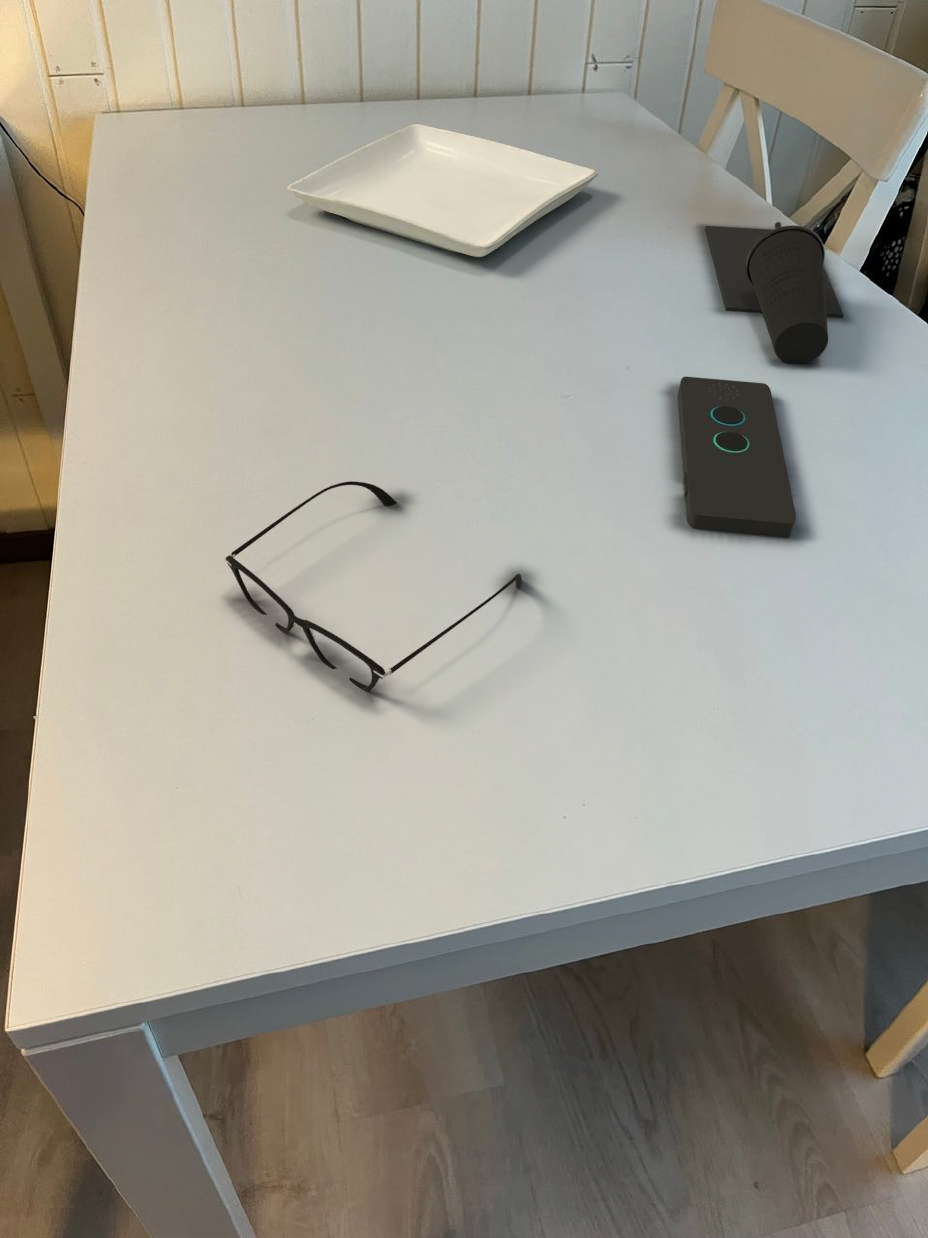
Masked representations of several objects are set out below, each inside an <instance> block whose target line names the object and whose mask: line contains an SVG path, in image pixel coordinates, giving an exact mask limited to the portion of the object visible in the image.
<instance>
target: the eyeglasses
mask: <svg viewBox="0 0 928 1238" xmlns="http://www.w3.org/2000/svg"><path fill="white" fill-rule="evenodd" d="M343 486H357V487H362V488H365V489H367V490H368V491H370V492H371V493H373V495H374V496H375V497H377V499H378V500H379V501H380V503H382V504H383V506H385V507H391V506H394V505H395V506H396V504H398V502H397V501H396V500H395V499H394V498H393V497H392V496H391V495H389V493H388V492H386V491H385V490H384V489H383V488H380V487H379V486H377V485H375V484H373V483H368V482H363V481H352V480H351V481H342V482H339V483H336V484H332V485H330V486H328V487H326V488H324V489H322V490H320V491H318V492H316V493H315V494H314V495H311V496H310V497H309V498H307V499H305V500H304V501H303V502H301V503H300V504H298V505H297V506H296V507H293V508H292V509H291V510H290V511H288V512H287V513H285V514H283V515H282V516H281V517H280V518H278V519H277V520H275V521H274V522H273V523H271V524H269V526H267V527H265V528H264V529H263V530H261V531H260V532H259V533H257V534H255V535H254V536H253V537H251V538H250V539H249V540H247V541H246V542H245V543H242V544H241V545H240V546H239V547H237V548H236V549H235V550H233V551H232V552H231V553H229V554H228V555H227V556H226V557H225V558H224V562H225V563H226V564H227V566H228V567H229V569H230V570H231V572H232V573H233V576H234V578H235V580H236V582H237V584H238V586H239V587H240V590H241V591H242V594H243V596H244V597H245V599H246V601H247V602H248V603H249V604H250V605H251V606H252V607H253V608H254V609H255V610H256V611H257V612H258V613H259V614H260V615H265V616H267V615H268V614H267V612H265V610H263V609H262V608H261V607H260V606H259V605H258V603H257V602H255V600H254V599H253V598H252V596H251V594H250V593H249V591H248V589H247V587H246V584H245V583H244V580H243V577H242V575H241V573H243V574H244V575H245V576H246V577H248V578H249V579H251V581H253V582H254V583H255V584H256V585H258V586H259V587H260V588H261V589H262V590H263V591H264V592H265V593H266V594H267V595H268V596H269V597H271V598H272V599H273V601H275V603H277V605H279V606H280V607H281V608H282V609H283V610H284V612H285V613H286V615H287V626H286V627H284V626H282V625H281V624H280V623H278V622H275V624H274V626H275V627H276V628H277V629H278V630H279V631H281V632H282V633H285V634H287V633H289V632H290V631H292V630H293V628H298V627H301V629H302V632H303V633H304V635H305V637H306V639H307V641H308V642H309V644H310V646H311V648H312V649H313V651H314V653H315V654H316V656H317V657H318V658H319V660H320V661H321V662H322V663H323V664H324V665H325V666H327V667H328V668H330V669H332V670H338V667H336V666H335V665H334V664H332V662H331V661H329V660H328V659H327V658H326V656H325V655H324V654H323V652H322V650H321V649H320V647H319V645H318V644H317V642H316V635H315V634H314V631H315V632H317V633H318V634H321V635H323V636H324V637H326V638H328V639H329V640H331V641H333V642H335V643H336V644H338V646H339V645H340V647H342V648H344V649H345V650H346V651H348V652H349V653H351V654H352V655H353V656H355V657H356V658H358V659H359V660H361V661H362V662H363V663H365V664H366V666H367V667H368V668H369V669H370V674H371V681H370V683H369V685H366V684H364V683H362V682H360V681H358V680H357V679H355V678H353V677H351V676H349V682H351V683H352V684H353V685H354V686H356V687H357V688H359V689H361V690H363V691H366V692H371V691H372V690H373V689H374V688H375V686H376V685H377V684H378V682H379V680H380V679H381V680H383V679H384V678H386V677H387V676H391V675H392V674H393V673H395V672H396V671H397V670H399V669H400V668H402V667H403V666H404V665H405V664H407V663H409V662H410V661H411V660H413V659H414V658H415V657H417V656H418V655H419V654H420V653H422V652H423V651H425V650H426V649H428V648H429V647H430V646H431V645H433V644H434V643H436V642H437V641H438V640H439V639H441V638H442V637H443V636H445V635H446V634H447V633H449V632H450V631H452V630H454V628H456V627H457V626H459V625H460V624H461V623H463V622H464V621H465V620H466V619H468V618H469V617H470V616H472V615H473V614H475V613H476V612H477V611H479V610H480V609H482V607H484V606H485V605H487V604H488V603H490V601H492V600H493V599H495V598H496V597H497V596H499V594H501V593H502V592H503V591H504V590H506V589H507V588H508V587H510V586H511V585H512V584H513V583H515V588H516V589H519V588H520V587H521V586H522V584H523V579H522V575H521V573H517V574H515V576H513V577H512V578H511V579H510V580H509V581H507V583H506V584H504V585H503V586H501V588H499V590H498V591H496V592H495V593H493V595H491V596H489V597H488V598H487V599H486V600H484V601H483V602H481V603H480V604H478V605H477V606H476V607H475V608H474V609H472V610H471V611H469V612H467V614H465V615H464V616H462V617H461V618H459V619H458V620H456V621H455V622H454V623H453V624H451V625H450V626H448V627H447V628H445V629H444V630H443V631H441V632H440V633H439V634H437V635H436V636H434V637H433V638H432V639H430V640H429V641H427V642H426V643H424V644H423V645H422V646H420V647H419V648H417V649H416V650H414V651H413V652H411V653H410V654H409V655H407V656H406V657H404V658H403V659H402V660H400V661H399V662H397V663H396V664H395V665H393V666H392V667H391V668H387V671H386V670H385V668H383V666H381V665H380V664H378V663H377V662H376V661H374V660H373V659H372V658H370V657H369V656H368V655H366V654H365V653H363V652H362V651H361V650H359V649H357V648H356V647H355V646H353V645H352V644H350V643H349V642H347V641H346V640H344V639H343V638H341V637H339V636H337V635H336V634H334V633H333V632H331V631H329V630H327V629H326V628H324V627H322V626H320V625H318V624H316V623H314V622H312V621H310V620H307V619H304V618H300V617H299V616H296V615H295V613H294V611H293V609H292V607H290V606H289V605H288V603H286V602H285V600H283V599H282V598H281V597H280V596H279V595H278V594H277V593H276V592H274V590H272V589H271V588H270V587H269V586H268V585H267V584H266V582H264V581H263V580H262V579H260V578H259V577H258V576H257V575H256V574H255V573H253V571H251V570H250V569H248V568H247V567H246V566H244V565H243V564H242V563H241V562H240V561H238V560H237V559H236V558H235V557H236V556H238V555H239V554H240V553H241V552H243V551H244V550H245V549H247V548H248V547H250V546H251V545H253V543H255V542H256V541H258V540H259V539H261V537H263V536H264V535H265V534H267V533H268V532H270V531H271V530H272V529H274V528H275V527H276V526H278V525H279V524H280V523H282V522H283V521H284V520H286V519H287V518H289V517H290V516H291V515H292V514H294V513H295V512H297V511H298V510H299V509H301V508H302V507H304V506H305V505H307V504H308V503H309V502H311V501H313V500H314V499H316V498H317V497H318V496H320V495H322V494H324V493H325V492H327V491H329V490H332V489H335V488H339V487H343ZM240 572H241V573H240Z"/></svg>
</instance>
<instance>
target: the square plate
mask: <svg viewBox="0 0 928 1238" xmlns="http://www.w3.org/2000/svg"><path fill="white" fill-rule="evenodd" d="M598 175H599V173H598V171H597V170H595V169H592V168H589V167H586V166H581V165H579V164H574V163H571V162H568V161H564V160H561V159H557V158H554V157H551V156H547V155H544V154H541V153H537V152H534V151H530V150H527V149H523V148H520V147H516V146H513V145H509V144H506V143H501V142H498V141H494V140H490V139H486V138H483V137H479V136H473V135H469V134H466V133H465V134H464V133H460V132H456V131H451V130H447V129H442V128H438V127H432V126H429V125H425V124H421V123H420V124H419V123H413V124H410V125H408V126H406V127H404V128H401V129H399V130H397V131H395V132H393V133H389V134H388V135H386V136H384V137H381V138H379V139H377V140H375V141H373V142H370V143H368V144H366V145H364V146H362V147H360V148H358V149H355V150H354V151H351V152H350V153H348V154H346V155H344V156H341V157H340V158H338V159H336V160H334V161H332V162H331V163H328V164H327V165H325V166H322V167H321V168H318V169H317V170H315V171H313V172H311V173H309V174H307V175H306V176H304V177H302V178H299V179H298V180H296V181H294V182H292V183H291V184H289V185H288V186H286V189H287V190H288V191H289V192H291V193H292V194H294V196H296V197H297V198H298V199H300V200H301V202H304V203H305V204H306V205H309V206H311V207H314V208H316V209H318V210H321V211H324V212H327V213H330V214H334V215H338V216H340V217H344V218H345V219H347V220H349V221H351V222H353V223H356V224H359V225H363V226H366V227H370V228H373V229H376V230H379V231H383V232H386V233H389V234H393V235H396V236H399V237H403V238H405V239H409V240H412V241H414V242H415V241H416V242H417V243H418V242H419V243H422V244H425V245H428V246H431V247H435V248H436V249H437V248H438V249H441V250H444V251H448V252H453V253H460V254H464V255H467V256H470V257H475V258H482V257H485V256H487V255H488V254H490V253H492V252H494V251H496V249H497V250H498V248H499V247H501V246H503V245H504V244H505V243H507V241H509V240H511V239H512V238H513V237H514V236H516V235H517V234H519V233H520V232H521V231H523V230H525V229H526V228H528V227H529V226H530V225H531V224H533V223H535V222H536V221H538V220H539V219H541V218H543V217H544V216H545V215H547V214H548V213H551V212H552V211H553V210H555V209H557V208H558V207H560V206H562V205H563V204H565V203H566V202H568V201H570V199H572V198H574V197H575V196H576V195H578V194H579V193H580V192H581V191H583V190H584V189H585V188H586V187H587V186H588V185H589V184H590V183H591V182H593V180H594V179H595V178H597V177H598Z"/></svg>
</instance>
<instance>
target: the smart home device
mask: <svg viewBox="0 0 928 1238" xmlns="http://www.w3.org/2000/svg"><path fill="white" fill-rule="evenodd" d="M677 403H678V417H679V430H680V431H679V432H680V443H681V444H680V445H681V458H682V459H681V460H682V471H683V491H684V499H685V508H686V509H685V510H686V520H687V524H688V526H689V527H691V528H692V529H695V530H705V531H716V532H724V533H733V534H734V533H736V534H746V535H756V536H766V537H776V538H785V539H786V538H789V537H790V536H791V534H792V531H793V528H794V526H795V522H796V521H797V513H796V509H795V504H794V499H793V494H792V489H791V485H790V480H789V474H788V469H787V464H786V459H785V454H784V449H783V445H782V440H781V434H780V430H779V424H778V420H777V415H776V411H775V405H774V400H773V395H772V389H771V388H770V387H769V385H768V384H767V383H764V382H752V381H743V380H733V379H732V380H730V379H720V378H709V377H695V376H683V377H682V378H681V380H680V382H679V388H678V392H677Z"/></svg>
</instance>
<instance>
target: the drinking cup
mask: <svg viewBox="0 0 928 1238" xmlns="http://www.w3.org/2000/svg"><path fill="white" fill-rule="evenodd" d="M771 230H772V231H770V232H768V233H766V234H765V235H763V236H762V237H761V238H760V239H759V240H758V241H757V242H756V243H755V244H754V245H753V247H752V248H751V250H750V252H749V254H748V257H747V261H746V271H747V276H748V278H749V280H750V282H751V283H752V284H753V286H754V289H755V292H756V295H757V298H758V301H759V304H760V307H761V310H762V313H761V314H762V315H763V320H764V322H765V326H766V330H767V332H768V335H769V338H770V341H771V344H772V347H773V350H774V353H775V355H776V357H777V358H778V359H779V360H780V361H781V362H783V363H785V364H795V365H803V364H808V363H810V362H813V361H814V360H816V359H817V358H819V357H820V356H822V354H823V353H824V351H826V349H827V347H828V344H829V329H828V317H827V314H826V300H825V286H824V272H823V268H824V262H825V257H826V256H825V255H826V252H825V246H824V242H823V240H822V239H821V237H820V236H819V235H818V234H817V233H816V232H815V231H813V229H810V228H808V227H806V226H802V225H784V226H783V225H782V223H781V222H780V221H777V222H776V223H774V229H771Z"/></svg>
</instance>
